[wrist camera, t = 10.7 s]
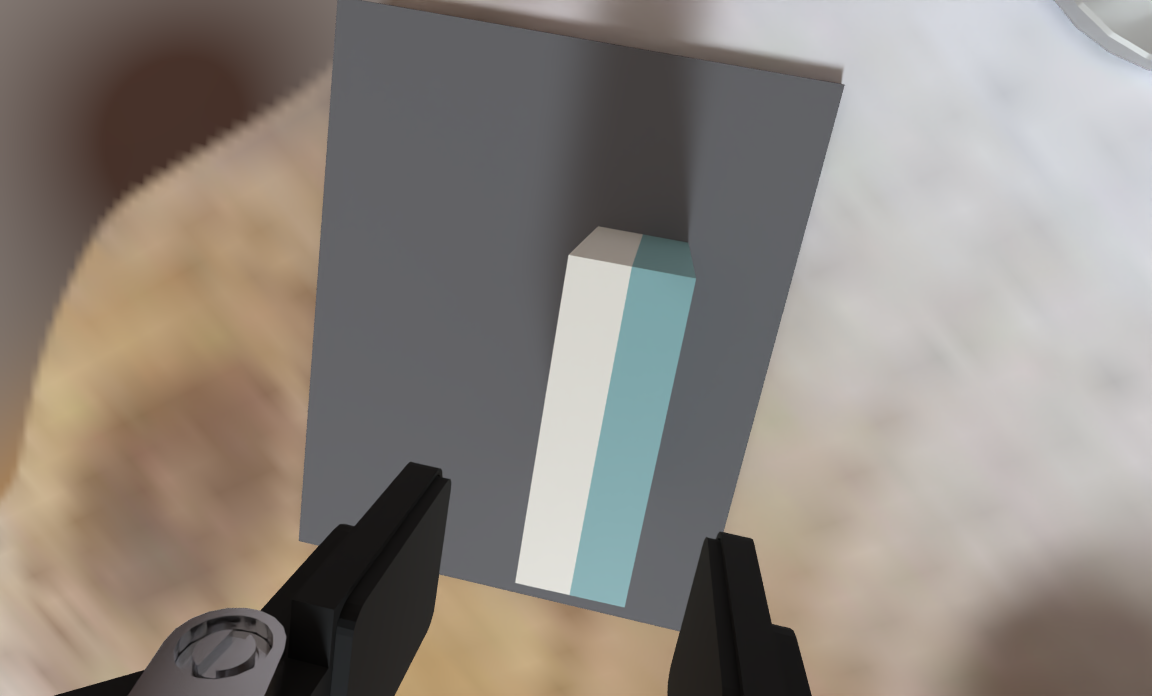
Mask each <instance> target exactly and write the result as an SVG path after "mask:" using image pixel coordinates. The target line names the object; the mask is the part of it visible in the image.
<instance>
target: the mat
mask: <svg viewBox="0 0 1152 696" xmlns="http://www.w3.org/2000/svg"><path fill="white" fill-rule="evenodd" d="M843 89H844V84H838V83H832V82H827V81H821V80H815V79H810V78H804V77H798V76H792V75H787V74H781V73H775V72H769V71H764V70H758V69H752V68H746V67H741V66H735V65H729V64H724V63H718V62H712V61H706V60H701V59H695V58H689V57H683V56H678V55H672V54H666V53H660V52H655V51H649V50H643V49H638V48H632V47H626V46H620V45H615V44H609V43H603V42H597V41H592V40H586V39H580V38H574V37H569V36H563V35H557V34H552V33H546V32H540V31H534V30H529V29H523V28H517V27H511V26H506V25H500V24H494V23H488V22H483V21H477V20H471V19H466V18H460V17H454V16H448V15H443V14H437V13H431V12H425V11H420V10H414V9H408V8H402V7H397V6H391V5H385V4H379V3H374V2H368V1H362V0H338V1H337V16H336V29H335V43H334V57H333V71H332V85H331V99H330V113H329V127H328V141H327V155H326V168H325V182H324V196H323V210H322V224H321V238H320V252H319V266H318V280H317V294H316V308H315V322H314V336H313V350H312V364H311V378H310V392H309V406H308V419H307V433H306V447H305V461H304V475H303V489H302V503H301V517H300V531H299V541H302V542H306V543H310V544H314V545H318V546H319V545H320V544H321V543H322V542H323V541H324V540H325V538H326V537H327V536H328V535H329V534H330V533H331V532H332V531H333V530H334V529H335V528H336V527H337V526H338V525H339V524H348V525H352V526H355V525H356V524H357V523H358V521H359V520H360V519H361V518H362V517H363V516H364V514H365V513H366V512H367V511H368V510H369V509H370V507H371V506H372V505H373V504H374V503H375V501H376V500H377V499H378V498H379V497H380V496H381V494H382V493H383V492H384V491H385V490H386V489H387V487H388V486H389V485H390V484H391V483H392V482H393V480H394V479H395V478H396V477H397V476H398V475H399V473H400V472H401V471H402V470H403V469H404V467H405V466H406V465H407V464H408V463H409V462H414V463H419V464H423V465H428V466H432V467H437V468H441V469H442V475H443V476H442V477H443V478H448V479H451V493H450V500H449V507H448V514H447V521H446V528H445V535H444V543H443V550H442V557H441V564H440V571H439V574H440V575H445V576H449V577H453V578H457V579H462V580H466V581H470V582H474V583H478V584H483V585H487V586H491V587H495V588H499V589H504V590H508V591H512V592H516V593H520V594H525V595H529V596H533V597H537V598H541V599H546V600H550V601H554V602H558V603H563V604H567V605H571V606H575V607H579V608H584V609H588V610H592V611H596V612H600V613H605V614H609V615H613V616H617V617H621V618H626V619H630V620H634V621H638V622H642V623H647V624H651V625H655V626H659V627H664V628H668V629H672V630H676V631H680V629H681V625H682V622H683V618H684V614H685V610H686V606H687V603H688V599H689V595H690V591H691V587H692V584H693V580H694V576H695V572H696V568H697V565H698V561H699V557H700V553H701V549H702V546H703V542H704V540H705V538H706V537H708V538H712V539H716V537H717V535H718V533H719V532H723V531H724V528H725V524H726V520H727V517H728V513H729V509H730V506H731V502H732V498H733V494H734V491H735V487H736V483H737V480H738V476H739V472H740V469H741V465H742V461H743V458H744V454H745V450H746V447H747V443H748V439H749V435H750V432H751V428H752V424H753V421H754V417H755V413H756V410H757V406H758V402H759V399H760V395H761V391H762V387H763V384H764V380H765V376H766V373H767V369H768V365H769V362H770V358H771V354H772V351H773V347H774V343H775V340H776V336H777V332H778V328H779V325H780V321H781V317H782V314H783V310H784V306H785V303H786V299H787V295H788V292H789V288H790V284H791V281H792V277H793V273H794V269H795V266H796V262H797V258H798V255H799V251H800V247H801V244H802V240H803V236H804V233H805V229H806V225H807V221H808V218H809V214H810V210H811V207H812V203H813V199H814V196H815V192H816V188H817V185H818V181H819V177H820V174H821V170H822V166H823V162H824V159H825V155H826V151H827V148H828V144H829V140H830V137H831V133H832V129H833V126H834V122H835V118H836V115H837V111H838V107H839V103H840V100H841V96H842V92H843ZM598 226H599V227H605V228H610V229H616V230H621V231H627V232H632V233H638V234H643V235H649V236H654V237H660V238H665V239H671V240H676V241H682V242H687V243H688V244H689V248H690V253H691V257H692V262H693V267H694V271H695V276H696V282H695V286H694V291H693V295H692V300H691V305H690V309H689V314H688V318H687V323H686V328H685V332H684V337H683V341H682V346H681V350H680V355H679V360H678V364H677V369H676V373H675V378H674V383H673V387H672V392H671V396H670V401H669V406H668V410H667V415H666V419H665V424H664V429H663V433H662V438H661V442H660V447H659V452H658V456H657V461H656V465H655V470H654V474H653V479H652V484H651V488H650V493H649V497H648V502H647V507H646V511H645V516H644V520H643V525H642V530H641V534H640V539H639V543H638V548H637V553H636V557H635V562H634V566H633V571H632V576H631V580H630V585H629V589H628V594H627V598H626V603H625V607H620V606H616V605H611V604H607V603H602V602H598V601H593V600H589V599H585V598H580V597H576V596H571V595H567V594H562V593H558V592H554V591H549V590H545V589H540V588H536V587H531V586H527V585H522V584H518V583H515V581H516V575H517V569H518V562H519V556H520V550H521V544H522V538H523V532H524V526H525V519H526V513H527V507H528V501H529V495H530V489H531V483H532V476H533V470H534V464H535V458H536V452H537V446H538V440H539V433H540V427H541V421H542V415H543V409H544V403H545V397H546V390H547V384H548V378H549V372H550V366H551V360H552V354H553V347H554V341H555V335H556V329H557V323H558V317H559V311H560V304H561V298H562V292H563V286H564V280H565V274H566V268H567V261H568V255H569V254H570V253H571V252H572V251H573V250H574V249H575V248H576V247H577V246H578V245H579V244H580V243H581V242H582V241H583V240H584V239H585V238H586V237H587V236H589V235H590V234H591V233H592V232H593V231H594V230H595V229H596V228H597V227H598Z"/></svg>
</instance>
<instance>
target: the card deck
mask: <svg viewBox="0 0 1152 696" xmlns="http://www.w3.org/2000/svg"><path fill="white" fill-rule="evenodd" d="M695 282H696V276H695V271H694V267H693V262H692V257H691V253H690V248H689V244H688V243H687V242H682V241H676V240H671V239H665V238H660V237H654V236H649V235H643V234H638V233H632V232H627V231H621V230H616V229H610V228H605V227H599V226H598V227H597V228H596V229H595V230H594V231H593V232H592V233H591V234H590V235H589V236H587V237H586V238H585V239H584V240H583V241H582V242H581V243H580V244H579V245H578V246H577V247H576V248H575V249H574V250H573V251H572V252H571V253H570V254H569V255H568V261H567V268H566V274H565V280H564V286H563V292H562V298H561V304H560V311H559V317H558V323H557V329H556V335H555V341H554V347H553V354H552V360H551V366H550V372H549V378H548V384H547V390H546V397H545V403H544V409H543V415H542V421H541V427H540V433H539V440H538V446H537V452H536V458H535V464H534V470H533V476H532V483H531V489H530V495H529V501H528V507H527V513H526V519H525V526H524V532H523V538H522V544H521V550H520V556H519V562H518V569H517V575H516V581H515V583H518V584H522V585H527V586H531V587H536V588H540V589H545V590H549V591H554V592H558V593H562V594H567V595H571V596H576V597H580V598H585V599H589V600H593V601H598V602H602V603H607V604H611V605H616V606H620V607H625V603H626V598H627V594H628V589H629V585H630V580H631V576H632V571H633V566H634V562H635V557H636V553H637V548H638V543H639V539H640V534H641V530H642V525H643V520H644V516H645V511H646V507H647V502H648V497H649V493H650V488H651V484H652V479H653V474H654V470H655V465H656V461H657V456H658V452H659V447H660V442H661V438H662V433H663V429H664V424H665V419H666V415H667V410H668V406H669V401H670V396H671V392H672V387H673V383H674V378H675V373H676V369H677V364H678V360H679V355H680V350H681V346H682V341H683V337H684V332H685V328H686V323H687V318H688V314H689V309H690V305H691V300H692V295H693V291H694V286H695Z"/></svg>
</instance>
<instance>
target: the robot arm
mask: <svg viewBox="0 0 1152 696" xmlns="http://www.w3.org/2000/svg"><path fill="white" fill-rule="evenodd" d="M1054 1H1055V2H1056V3H1057V5H1058V6H1059V7H1060V8H1061V10H1062V11H1063V12H1064V13H1065V14H1066V16H1067V17H1068V18H1069V19H1070V21H1071V22H1072V23H1073V24H1074V26H1075V27H1076V28H1078V29H1079V30H1080V31H1081V32H1083V33H1084V34H1085V35H1087V36H1088V37H1089V38H1091V39H1092V40H1093V41H1094V42H1096V43H1097V44H1098V45H1100V46H1101V47H1102V48H1104V49H1105V50H1106V51H1107V52H1109V53H1111V54H1113V55H1116V56H1118V57H1120V58H1122V59H1124V60H1126V61H1129V62H1131V63H1133V64H1135V65H1137V66H1140V67H1142V68H1144V69H1146V70H1150V71H1152V0H1054ZM442 476H443V475H442V469H441V468H437V467H432V466H428V465H423V464H419V463H414V462H409V463H408V464H407V465H406V466H405V467H404V469H403V470H402V471H401V472H400V473H399V475H398V476H397V477H396V478H395V479H394V480H393V482H392V483H391V484H390V485H389V486H388V487H387V489H386V490H385V491H384V492H383V493H382V494H381V496H380V497H379V498H378V499H377V500H376V501H375V503H374V504H373V505H372V506H371V507H370V509H369V510H368V511H367V512H366V513H365V514H364V516H363V517H362V518H361V519H360V520H359V521H358V523H357V524H356V525H355V526H352V525H348V524H339V525H338V526H337V527H336V528H335V529H334V530H333V531H332V532H331V533H330V534H329V535H328V536H327V537H326V538H325V540H324V541H323V542H322V543H321V544H320V545H319V546H318V547H317V548H316V550H315V551H314V552H313V553H312V554H311V555H310V556H309V557H308V558H307V560H306V561H305V562H304V563H303V564H302V565H301V566H300V567H299V568H298V570H297V571H296V572H295V573H294V574H293V575H292V576H291V577H290V578H289V580H288V581H287V582H286V583H285V584H284V585H283V586H282V587H281V588H280V589H279V591H278V592H277V593H276V594H275V595H274V596H273V597H272V598H271V599H270V601H269V602H268V603H267V604H266V605H265V606H264V607H263V608H262V609H261V611H259V610H254V609H248V608H226V609H221V610H216V611H211V612H207V613H205V614H202V615H200V616H197V617H194V618H192V619H190V620H188V621H187V622H185V623H184V624H182V625H181V626H179V627H178V628H176V629H175V630H174V631H173V632H172V633H171V634H170V635H169V636H168V637H167V639H166V640H165V641H164V642H163V644H162V645H161V647H160V648H159V650H158V651H157V653H156V654H155V656H154V657H153V659H152V660H151V662H150V663H149V665H148V666H147V668H146V669H145V670H143V671H139V672H136V673H132V674H129V675H125V676H122V677H118V678H115V679H111V680H108V681H104V682H101V683H97V684H94V685H90V686H87V687H83V688H79V689H76V690H72V691H69V692H65V693H62V694H58V695H55V696H394V695H395V693H396V692H397V690H398V688H399V686H400V684H401V682H402V680H403V678H404V676H405V674H406V672H407V670H408V668H409V666H410V664H411V662H412V660H413V658H414V656H415V654H416V652H417V650H418V648H419V646H420V645H421V643H422V641H423V639H424V637H425V635H426V633H427V631H428V628H429V626H430V623H431V620H432V616H433V612H434V607H435V600H436V593H437V585H438V578H439V571H440V564H441V557H442V550H443V543H444V535H445V528H446V521H447V514H448V507H449V500H450V493H451V479H448V478H443V477H442ZM668 696H812V695H811V691H810V687H809V684H808V680H807V676H806V672H805V669H804V665H803V661H802V657H801V653H800V650H799V646H798V642H797V638H796V636H795V633H794V631H793V630H792V629H790V628H787V627H783V626H778V625H774V624H772V623H771V618H770V614H769V609H768V605H767V600H766V596H765V591H764V586H763V582H762V577H761V573H760V568H759V564H758V559H757V554H756V550H755V545H754V541H753V539H751V538H747V537H742V536H738V535H733V534H729V533H725V532H719V533H718V535H717V537H716V539H712V538H708V537H706V538H705V540H704V542H703V546H702V549H701V553H700V557H699V561H698V565H697V568H696V572H695V576H694V580H693V584H692V587H691V591H690V595H689V599H688V603H687V606H686V610H685V614H684V618H683V622H682V625H681V629H680V633H679V637H678V641H677V644H676V648H675V652H674V656H673V660H672V663H671V668H670V673H669V679H668Z"/></svg>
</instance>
